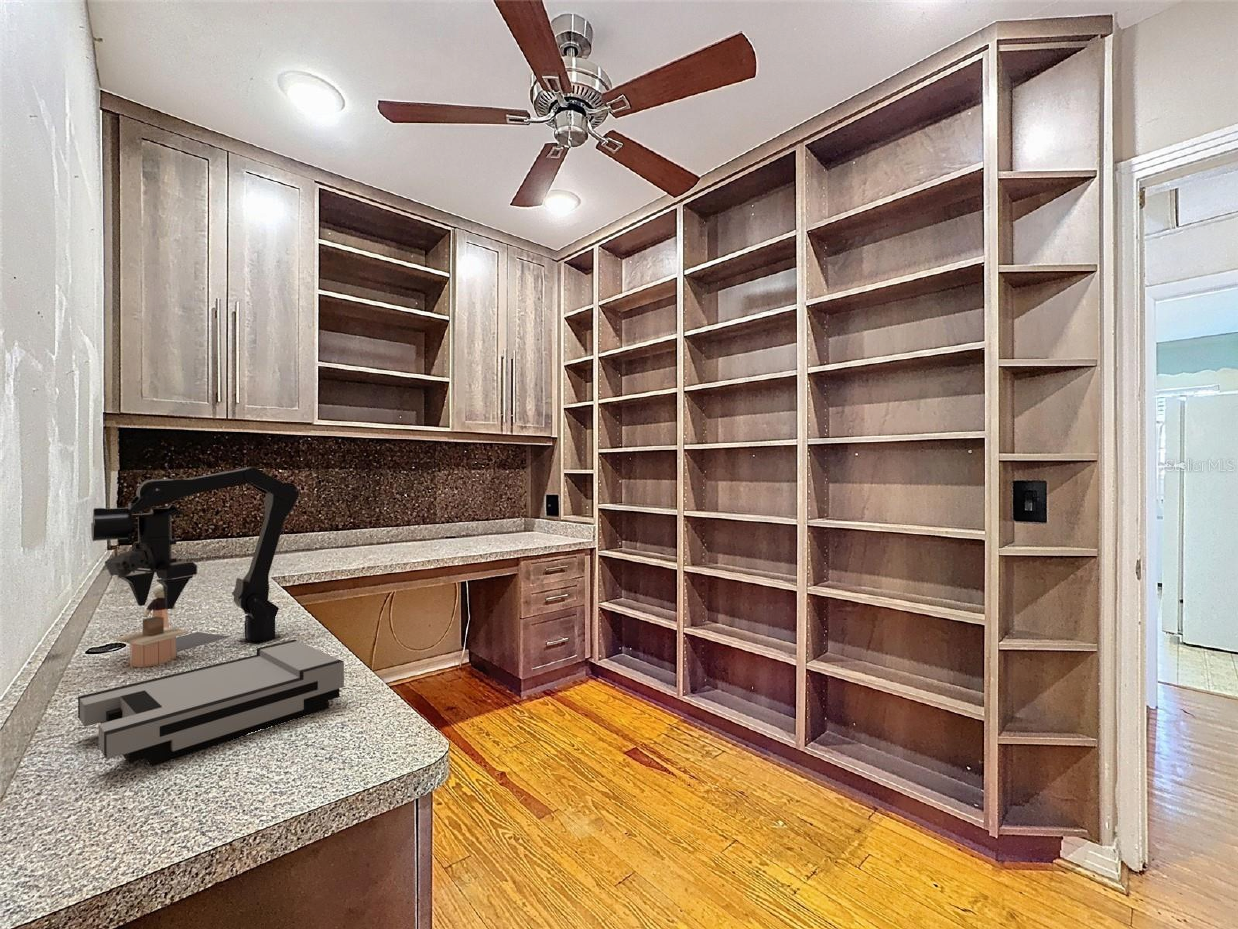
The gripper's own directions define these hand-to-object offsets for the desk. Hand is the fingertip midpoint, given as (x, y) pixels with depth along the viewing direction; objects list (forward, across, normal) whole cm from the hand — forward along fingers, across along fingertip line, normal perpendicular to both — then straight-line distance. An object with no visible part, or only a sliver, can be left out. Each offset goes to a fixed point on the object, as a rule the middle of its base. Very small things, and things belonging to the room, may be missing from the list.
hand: (155, 607), depth 126 cm
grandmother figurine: (+12, -22, +14) cm, 29 cm away
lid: (+6, 0, 0) cm, 6 cm away
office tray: (+12, +43, -16) cm, 48 cm away
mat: (+12, -7, +12) cm, 18 cm away
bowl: (+12, 0, -1) cm, 12 cm away
